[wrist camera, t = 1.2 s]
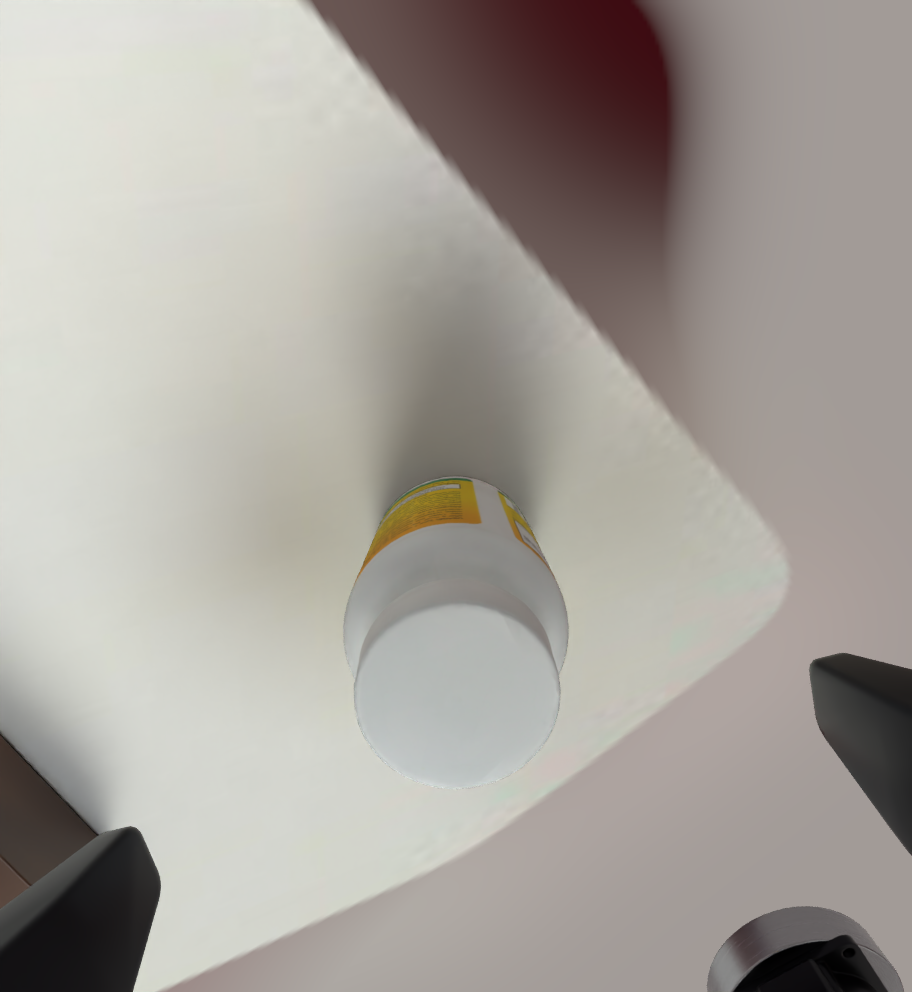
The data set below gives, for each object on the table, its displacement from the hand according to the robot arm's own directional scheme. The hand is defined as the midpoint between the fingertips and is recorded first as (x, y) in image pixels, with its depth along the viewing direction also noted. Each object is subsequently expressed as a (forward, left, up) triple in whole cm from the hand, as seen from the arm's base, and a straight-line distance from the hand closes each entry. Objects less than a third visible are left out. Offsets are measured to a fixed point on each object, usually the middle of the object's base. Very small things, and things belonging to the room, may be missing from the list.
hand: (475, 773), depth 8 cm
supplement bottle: (-1, +1, -13) cm, 13 cm away
